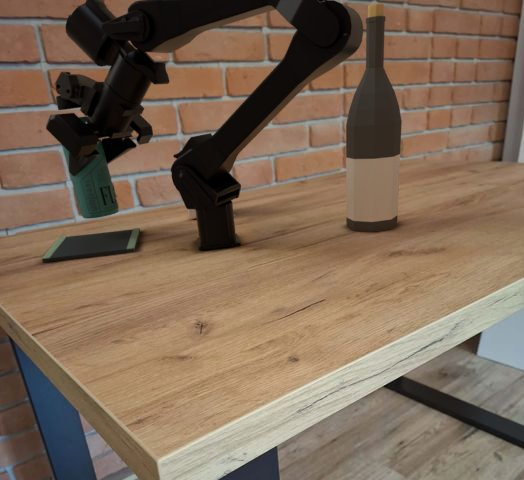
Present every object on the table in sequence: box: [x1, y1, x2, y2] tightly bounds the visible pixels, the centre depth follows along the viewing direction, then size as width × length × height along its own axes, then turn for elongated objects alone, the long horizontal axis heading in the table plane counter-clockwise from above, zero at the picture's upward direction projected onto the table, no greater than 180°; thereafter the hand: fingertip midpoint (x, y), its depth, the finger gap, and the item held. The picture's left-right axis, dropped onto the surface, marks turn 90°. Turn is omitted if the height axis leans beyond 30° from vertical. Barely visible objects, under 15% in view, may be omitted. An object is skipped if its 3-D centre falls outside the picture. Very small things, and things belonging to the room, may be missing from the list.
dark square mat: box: [41, 227, 141, 263], centre depth 85 cm, size 14×14×1 cm
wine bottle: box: [345, 3, 403, 233], centre depth 76 cm, size 8×8×30 cm
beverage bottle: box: [55, 94, 120, 220], centre depth 83 cm, size 6×7×20 cm
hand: (84, 171), depth 84 cm, fingers closed on beverage bottle, 5 cm apart
